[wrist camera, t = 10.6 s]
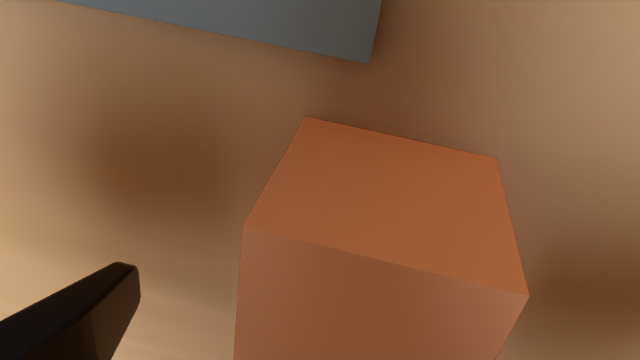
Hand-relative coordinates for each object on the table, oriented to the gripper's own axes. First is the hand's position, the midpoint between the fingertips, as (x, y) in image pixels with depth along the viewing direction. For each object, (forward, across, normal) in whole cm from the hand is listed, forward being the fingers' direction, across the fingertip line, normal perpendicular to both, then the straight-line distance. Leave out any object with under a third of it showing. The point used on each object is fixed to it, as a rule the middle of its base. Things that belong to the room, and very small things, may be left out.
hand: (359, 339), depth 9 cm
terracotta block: (+4, 0, 0) cm, 4 cm away
